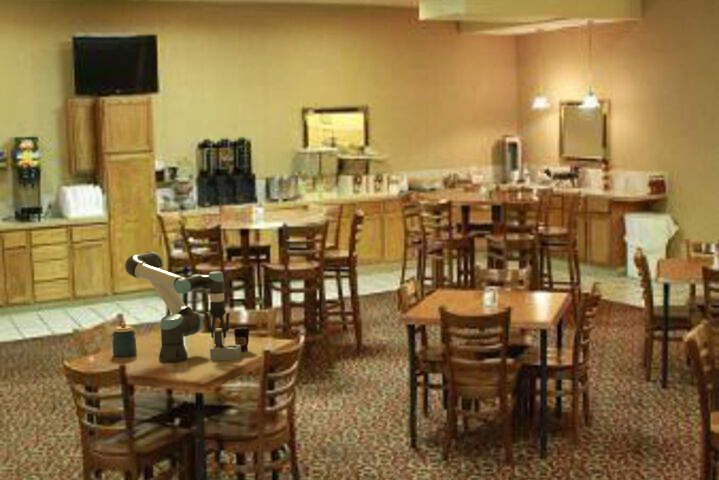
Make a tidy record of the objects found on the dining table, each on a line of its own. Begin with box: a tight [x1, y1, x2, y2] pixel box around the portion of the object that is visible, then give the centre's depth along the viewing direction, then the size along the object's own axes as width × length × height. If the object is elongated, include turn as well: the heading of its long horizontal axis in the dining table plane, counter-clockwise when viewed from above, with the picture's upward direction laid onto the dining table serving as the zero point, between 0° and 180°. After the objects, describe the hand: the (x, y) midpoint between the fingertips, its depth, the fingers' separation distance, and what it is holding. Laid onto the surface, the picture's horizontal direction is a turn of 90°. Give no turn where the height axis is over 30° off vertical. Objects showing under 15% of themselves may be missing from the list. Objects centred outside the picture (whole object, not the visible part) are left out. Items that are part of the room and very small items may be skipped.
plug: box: [214, 327, 224, 348], centre depth 537 cm, size 4×4×12 cm
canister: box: [111, 322, 138, 358], centre depth 549 cm, size 13×13×18 cm
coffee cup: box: [233, 326, 250, 353], centre depth 551 cm, size 9×8×13 cm
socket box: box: [209, 344, 242, 361], centre depth 537 cm, size 14×10×6 cm
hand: (219, 343), depth 537 cm, fingers closed on plug, 4 cm apart
